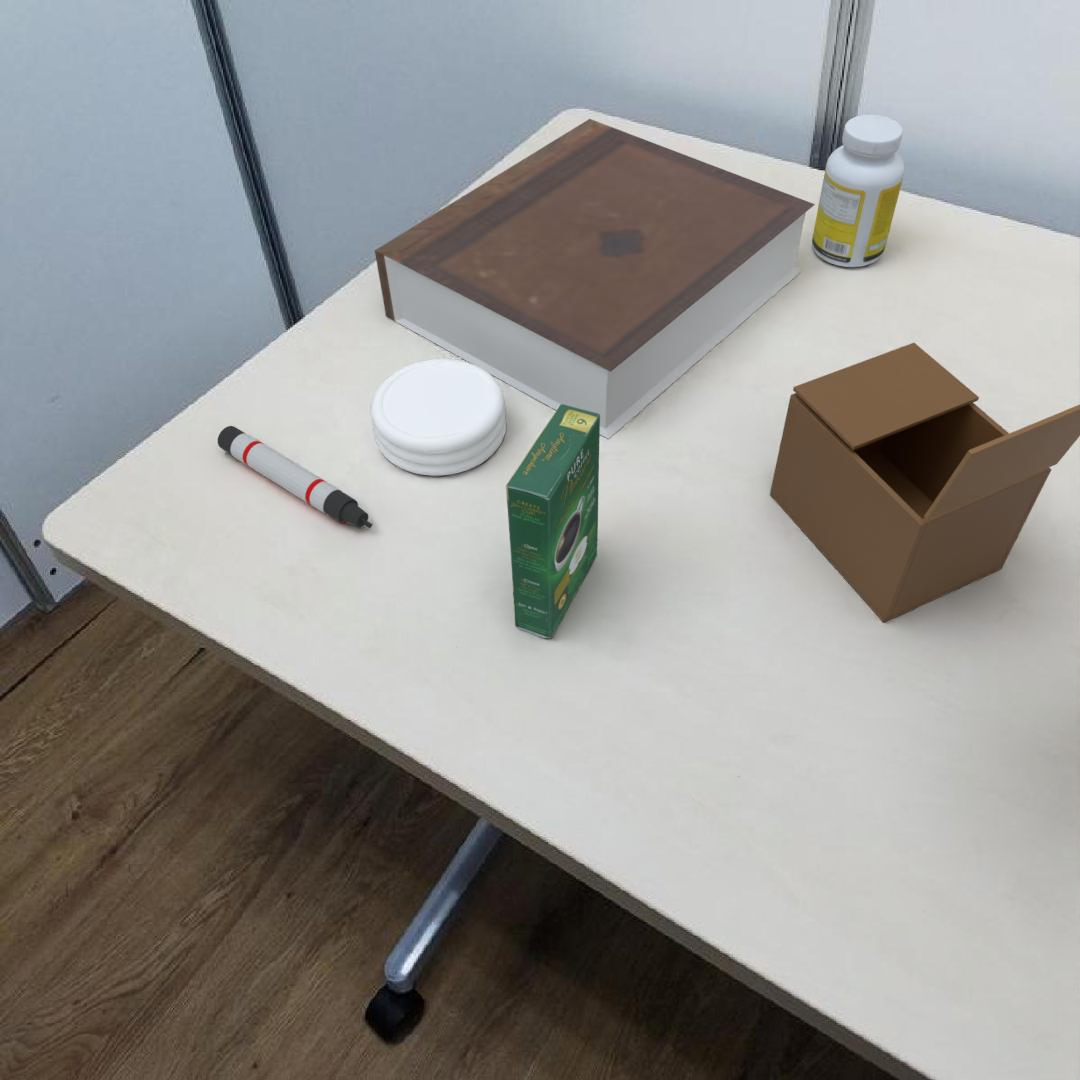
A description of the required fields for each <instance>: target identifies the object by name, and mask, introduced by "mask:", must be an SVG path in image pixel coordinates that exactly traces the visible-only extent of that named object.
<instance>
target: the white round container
mask: <svg viewBox="0 0 1080 1080" xmlns="http://www.w3.org/2000/svg"><path fill="white" fill-rule="evenodd" d="M505 402H506V401H505V394H504V392H503V390H502V387H501V385H500V383H499V382H498V380H497V378H496V377H495V376H493V375H492V374H490V373H488V372H487V371H485V370H484V369H482V368H480V367H478V366H476V365H473V364H472V363H470V362H468V361H465V360H464V361H463V360H458V359H453V358H434V359H426V360H421V361H417V362H414V363H410V364H408V365H406V366H403V367H401V368H400V369H397V370H396V371H394V372H393V373H391V374H390V375H388V377H386V378H385V379H384V380H383V381H382V382H381V383H380V384H379V385H378V387H377V388H376V390H375V391H374V393H373V396H372V398H371V402H370V403H371V404H370V410H369V413H370V419H371V422H372V429H373V432H374V437H375V443H376V445H377V447H378V448H379V450H380V452H381V453H382V455H383V456H384V457H385V458H386V459H387V460H388V461H389V462H390V463H391V464H392V465H394V466H396V467H397V468H399V469H402V470H404V471H407V472H410V473H413V474H416V475H422V476H449V475H450V476H451V475H454V474H459V473H462V472H465V471H468V470H471V469H473V468H475V467H477V466H479V465H481V464H482V463H484V462H485V461H487V460H488V459H489V458H491V456H493V455H494V454H495V452H496V451H498V449H499V448H500V446H501V444H502V442H503V439H504V437H505V434H506V430H507V419H506V407H505Z"/></svg>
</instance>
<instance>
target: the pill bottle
mask: <svg viewBox="0 0 1080 1080" xmlns="http://www.w3.org/2000/svg"><path fill="white" fill-rule="evenodd" d="M903 133H904V129H903V126H902V125H901V124H900V123H899V122H897V121H896V120H895V119H892V118H891V117H887V116H884V115H877V114H862V115H857V116H854V117H852V118H850V119H849V120H847V122H846V123H845V125H844V128H843V133H842V137H841V142H842V145H840V146H839V147H837V148H836V149H835V150H834V151H833V152H832V153H830V155H829V156H828V159H827V161H826V165H825V170H824V175H823V179H822V185H821V191H820V195H819V201H818V207H817V212H816V216H815V222H814V227H813V233H812V237H811V238H812V239H811V242H812V243H811V245H812V249H813V250H814V252H815V254H816V255H817V256H818V257H820V258H821V260H824V261H825V262H827V263H829V264H833V265H835V266H839V267H846V268H859V267H864V266H869V265H871V264H873V263H875V262H876V261H878V260H879V259H880V258H881V257H882V255H883V254H884V252H885V249H886V246H887V242H888V238H889V234H890V231H891V227H892V222H893V218H894V215H895V211H896V207H897V204H898V199H899V196H900V192H901V187H902V184H903V179H904V175H905V171H906V170H905V162H904V160H903V157H902V156H901V155H900V153H898V152H897V151H898V150H899V149H900V146H901V143H902V137H903Z"/></svg>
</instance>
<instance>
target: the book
mask: <svg viewBox="0 0 1080 1080" xmlns="http://www.w3.org/2000/svg"><path fill="white" fill-rule="evenodd" d="M815 205H816V203H813V202H810V201H808V200H804V199H802V198H799V197H798V196H795V195H792V194H789V193H786V192H785V191H781V190H779V189H775V188H773V187H771V186H768V185H765V184H763V183H761V182H757V181H755V180H752V179H750V178H748V177H744V176H743V175H739V174H736V173H734V172H731V171H729V170H726V169H723V168H721V167H717V166H715V165H712V164H711V163H707V162H704V161H702V160H699V159H697V158H694V157H692V156H689V155H686V154H683V153H681V152H678V151H675V150H674V149H671V148H669V147H666V146H662V145H660V144H657V143H655V142H652V141H650V140H647V139H644V138H642V137H639V136H636V135H634V134H631V133H628V132H626V131H623V130H621V129H618V128H615V127H613V126H610V125H607V124H605V123H602V122H600V121H597V120H594V119H592V118H588V119H587V120H585V121H583V122H582V123H581V124H578V125H577V126H576V127H574V128H572V129H571V130H569V131H567V132H565V133H563V135H561V136H559V137H557V138H556V139H553V141H551V142H549V143H548V144H546V145H544V146H543V147H541V148H539V149H538V150H536V151H535V152H533V153H531V154H530V155H528V156H526V157H525V158H523V159H522V160H520V161H519V162H517V163H515V164H513V165H512V166H510V167H508V168H507V169H505V170H503V171H502V172H500V173H499V174H497V175H496V176H494V177H492V178H490V179H489V180H487V181H485V182H484V183H483V184H481V185H479V186H477V187H476V188H474V189H472V190H470V192H468V193H466V194H465V195H462V196H461V197H459V198H458V199H456V200H454V201H453V202H451V203H449V204H448V205H446V206H445V207H443V208H442V209H440V210H438V211H437V212H435V213H433V214H432V215H430V216H428V217H426V218H425V219H424V220H422V221H420V222H419V223H417V224H415V225H413V226H412V227H410V228H409V229H407V230H406V231H404V232H402V233H400V234H399V235H397V236H396V237H394V238H393V239H391V240H389V241H387V242H386V243H384V244H383V245H381V246H379V247H378V248H376V249H375V250H374V254H375V260H376V267H377V272H378V277H379V282H380V290H381V295H382V300H383V301H382V302H383V307H384V312H385V317H386V318H389V319H390V320H392V321H394V322H396V323H397V324H399V325H401V326H403V327H405V328H406V329H408V330H409V331H412V332H414V333H415V334H417V335H419V336H421V337H423V338H425V339H426V340H428V341H430V342H432V343H434V344H436V345H437V346H440V347H441V348H443V349H445V350H446V351H448V352H449V353H452V354H454V355H455V356H457V357H459V358H461V359H462V360H464V361H465V362H467V363H471V364H473V365H476V366H478V367H480V368H482V369H484V370H485V371H487V372H488V373H490V374H491V375H492V376H493V377H494V378H496V379H498V380H501V381H503V382H504V383H506V384H508V385H509V386H512V387H513V388H515V389H517V390H519V391H520V392H522V393H524V394H526V395H528V396H529V397H531V398H533V399H535V400H537V401H539V402H540V403H542V404H544V405H546V406H548V407H549V408H551V409H553V410H555V411H556V410H557V409H558V407H559V406H560V405H561V404H563V405H567V406H571V407H575V408H579V409H582V410H586V411H590V412H594V413H598V414H600V433H599V436H602V437H603V438H605V439H607V440H609V439H610V438H612V437H613V436H614V435H615V434H616V433H617V432H618V431H620V430H621V429H622V428H623V427H624V426H625V425H626V424H628V423H629V422H630V421H632V420H633V418H635V416H637V415H638V414H639V413H640V412H642V410H644V409H645V408H646V407H647V406H648V405H649V404H651V403H652V402H653V401H654V400H655V399H657V398H658V397H659V396H660V395H661V394H662V393H663V392H665V391H666V390H667V389H668V388H669V387H671V385H673V383H675V382H676V381H677V380H678V379H679V378H681V377H682V376H683V375H685V374H686V372H687V371H688V370H690V369H691V368H692V367H694V365H696V364H697V363H698V362H699V361H700V360H701V359H702V358H704V356H706V355H708V353H709V352H710V351H712V350H713V349H714V348H715V347H717V345H718V344H720V343H721V342H722V341H723V340H725V338H727V337H728V336H729V335H730V334H731V333H732V332H734V331H735V330H736V329H737V328H738V327H739V326H741V324H743V323H744V322H745V321H746V320H747V319H748V318H750V317H751V316H752V315H753V314H754V313H755V312H757V311H758V310H759V309H760V308H761V307H763V306H764V305H765V304H766V303H767V302H768V301H770V300H771V298H772V297H774V296H775V295H776V294H778V292H779V291H781V290H782V289H783V288H784V287H785V286H787V285H788V284H789V283H790V282H792V280H793V279H795V277H797V276H798V275H799V274H800V273H802V272H803V270H802V269H800V268H799V267H798V266H796V263H797V259H798V254H799V248H800V243H801V238H802V232H803V228H804V223H805V217H806V213H807V212H808V211H809V210H811V209H812V208H813V207H814V206H815Z"/></svg>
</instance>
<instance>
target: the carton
mask: <svg viewBox="0 0 1080 1080" xmlns="http://www.w3.org/2000/svg"><path fill="white" fill-rule="evenodd" d="M792 391H793V392H794V393H792V394H790V397H789V400H788V401H789V402H788V406H787V410H786V415H785V420H784V425H783V430H782V433H781V434H782V435H781V439H780V444H779V447H778V454H777V459H776V463H775V467H774V472H773V478H772V482H771V487H770V491H769V496H770V497H771V498H772V499H773V500H774V501H775V502H776V503H777V504H778V505H779V507H780V508H781V509H782V510H783V511H784V512H785V513H786V514H787V516H789V518H790V519H791V520H792V521H793V522H794V523H795V525H796V526H797V527H798V528H799V529H800V530H801V531H802V532H803V534H804V535H805V536H806V537H807V538H808V539H809V540H810V541H811V543H812V544H813V545H814V546H815V547H816V548H817V549H818V550H819V551H820V553H821V554H822V555H823V556H824V557H825V558H826V560H828V562H829V563H830V564H831V566H833V567H834V568H835V569H836V571H837V572H838V573H839V574H840V575H841V576H842V578H843V579H844V580H845V581H846V582H847V583H848V585H850V586H851V588H852V589H853V590H854V591H855V592H856V593H857V594H858V596H860V597H861V599H862V600H863V601H864V602H865V604H867V605H868V606H869V608H870V609H871V610H872V612H874V613H875V615H876V616H877V617H878V618H879V619H880V620H881V621H882V622H883V623H886V622H889V621H891V620H893V619H895V618H897V617H899V616H901V615H904V614H906V613H908V612H910V611H912V610H914V609H917V608H919V607H922V606H923V605H925V604H928V603H930V602H932V601H934V600H936V599H938V598H941V597H943V596H945V595H948V594H950V593H951V592H954V591H956V590H957V589H960V588H962V587H964V586H967V585H969V584H971V583H973V582H976V581H978V580H981V579H982V578H984V577H986V576H990V575H991V574H993V573H996V572H997V571H1000V570H1002V569H1003V567H1004V565H1005V563H1006V561H1007V559H1008V557H1009V555H1010V553H1011V551H1012V549H1013V547H1014V545H1015V544H1016V541H1017V539H1018V537H1019V535H1020V533H1021V531H1022V530H1023V528H1024V525H1025V524H1026V522H1027V519H1028V517H1029V516H1030V514H1031V512H1032V510H1033V508H1034V506H1035V504H1036V502H1037V500H1038V498H1039V495H1040V494H1041V492H1042V490H1043V488H1044V485H1045V484H1046V481H1047V479H1048V478H1049V475H1050V473H1051V471H1052V468H1051V467H1049V468H1047V469H1044V470H1042V471H1040V472H1037V473H1035V474H1033V475H1030V476H1028V477H1026V478H1023V479H1021V480H1019V481H1016V482H1014V483H1012V484H1009V485H1007V486H1005V487H1003V488H1000V489H998V490H996V491H993V492H991V493H989V494H986V495H984V496H982V497H979V498H977V499H975V500H972V501H970V502H968V503H965V504H963V505H961V506H958V507H956V508H954V509H951V510H949V511H947V512H944V513H942V514H940V515H937V516H935V517H933V518H930V519H928V520H927V519H926V518H925V517H924V515H925V514H926V512H927V511H928V509H929V508H930V507H931V505H932V504H933V502H934V501H935V499H936V498H937V496H938V495H939V493H940V492H941V490H942V489H943V487H944V486H945V484H946V483H947V482H948V480H949V479H950V477H951V476H952V474H953V473H954V471H955V470H956V468H957V467H958V465H959V464H960V462H961V461H962V459H963V458H964V456H965V455H966V454H967V452H968V451H969V450H970V449H973V448H975V447H978V446H980V445H983V444H985V443H987V442H990V441H992V440H995V439H997V438H1000V437H1002V436H1004V435H1007V434H1009V433H1010V432H1009V431H1007V430H1006V429H1005V428H1004V427H1002V426H1001V425H1000V423H998V422H997V421H995V420H994V419H993V418H992V417H991V416H990V415H988V414H987V413H986V412H985V411H983V409H981V407H979V406H978V405H977V404H976V403H977V402H978V401H979V399H980V396H978V395H977V394H976V393H975V392H973V391H972V390H971V388H969V387H968V386H967V385H965V384H964V383H963V382H962V381H961V380H959V379H958V377H956V376H954V374H952V373H951V372H950V371H949V370H947V369H946V368H945V367H944V366H943V365H942V364H940V363H939V362H938V361H937V360H936V359H935V358H934V357H932V356H931V355H930V354H928V352H927V351H925V350H924V349H923V348H921V347H920V346H919V345H918V344H917V343H916V342H912V343H908V344H906V345H904V346H900V347H898V348H894V349H893V350H889V351H887V352H884V353H882V354H879V355H877V356H874V357H871V358H868V359H866V360H863V361H860V362H857V363H855V364H852V365H849V366H846V367H844V368H841V369H839V370H836V371H832V372H829V373H827V374H825V375H822V376H820V377H819V376H818V377H816V378H814V379H811V380H809V381H808V380H807V381H806V382H803V383H801V384H798V385H795V386H793V388H792Z"/></svg>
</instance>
